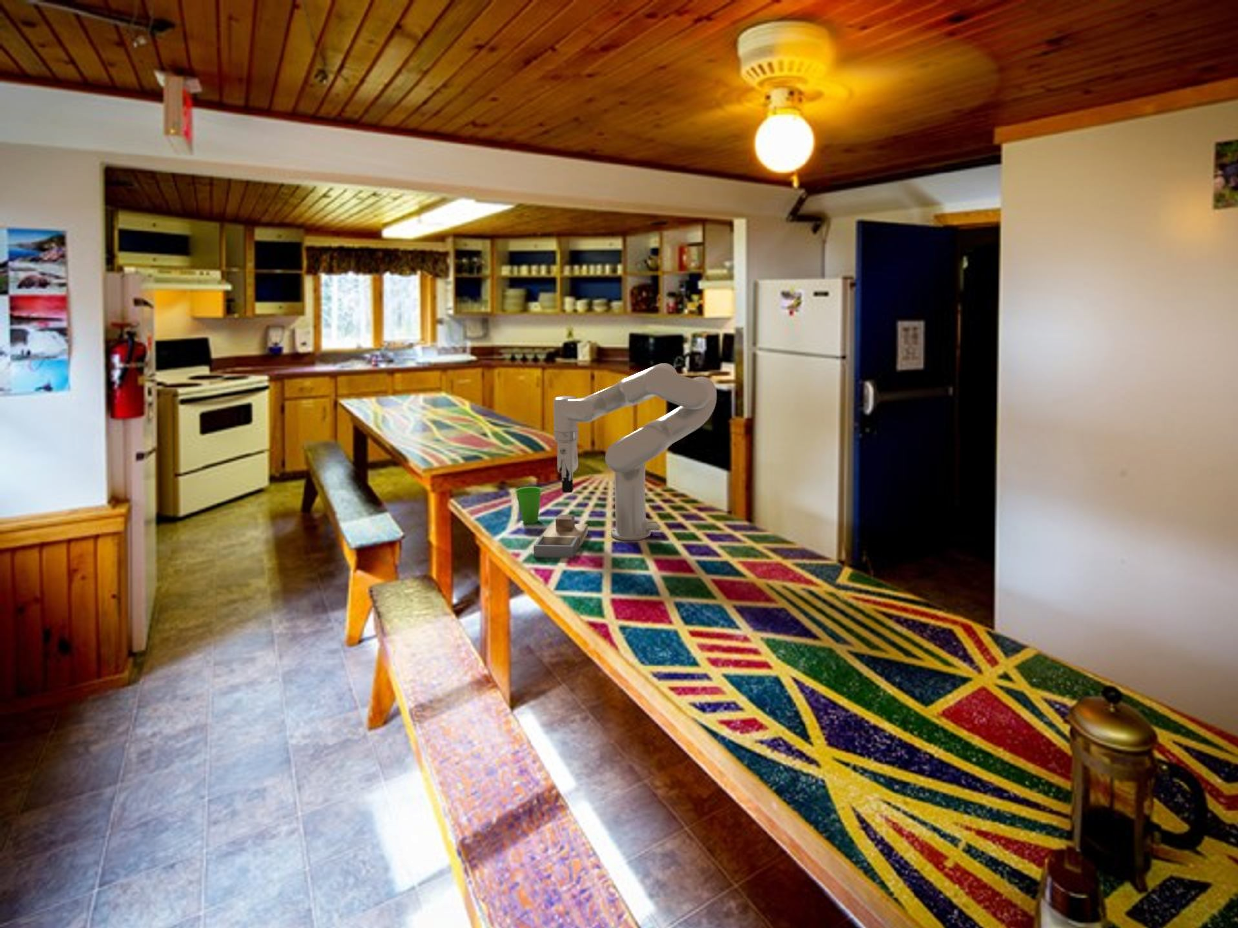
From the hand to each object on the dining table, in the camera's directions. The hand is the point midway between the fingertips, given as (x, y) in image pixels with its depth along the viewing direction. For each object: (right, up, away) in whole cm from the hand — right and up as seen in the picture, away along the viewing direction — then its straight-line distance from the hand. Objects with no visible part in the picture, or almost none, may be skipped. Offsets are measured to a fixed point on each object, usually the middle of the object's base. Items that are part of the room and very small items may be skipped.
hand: (567, 491), depth 231 cm
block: (0, -11, -5) cm, 13 cm away
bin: (-2, -17, -17) cm, 24 cm away
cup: (-14, -11, +14) cm, 22 cm away
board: (0, -15, -6) cm, 16 cm away
